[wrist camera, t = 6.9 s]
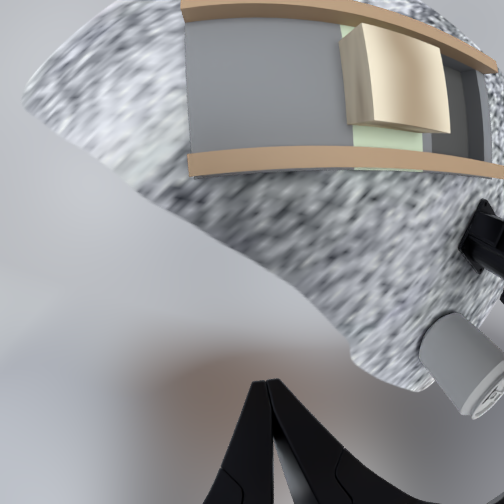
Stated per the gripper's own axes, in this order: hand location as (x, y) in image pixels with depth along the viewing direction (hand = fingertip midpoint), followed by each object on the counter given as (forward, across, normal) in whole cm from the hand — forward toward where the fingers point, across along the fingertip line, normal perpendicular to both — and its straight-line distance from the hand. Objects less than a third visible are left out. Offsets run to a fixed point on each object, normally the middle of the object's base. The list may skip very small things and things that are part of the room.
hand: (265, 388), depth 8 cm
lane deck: (+13, -11, -12) cm, 20 cm away
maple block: (+10, -10, -12) cm, 19 cm away
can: (+13, -22, +13) cm, 29 cm away
